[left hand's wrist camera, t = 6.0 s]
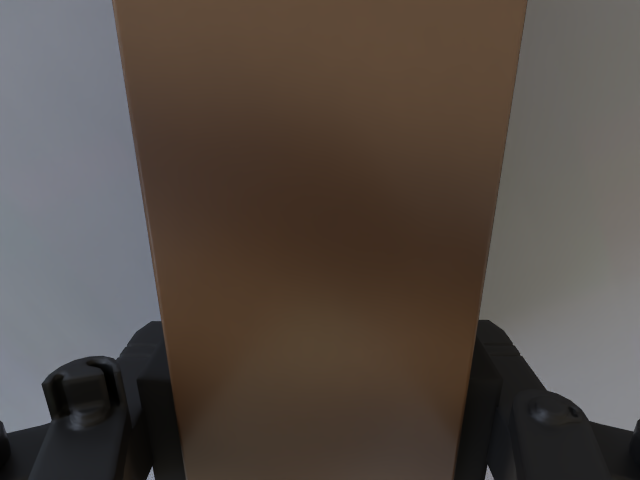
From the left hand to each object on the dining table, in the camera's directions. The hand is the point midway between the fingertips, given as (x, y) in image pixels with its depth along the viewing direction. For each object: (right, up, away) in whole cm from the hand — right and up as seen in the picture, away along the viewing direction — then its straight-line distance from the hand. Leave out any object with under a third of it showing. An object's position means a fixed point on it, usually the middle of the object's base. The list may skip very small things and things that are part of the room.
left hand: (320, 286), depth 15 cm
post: (0, +21, -7) cm, 22 cm away
